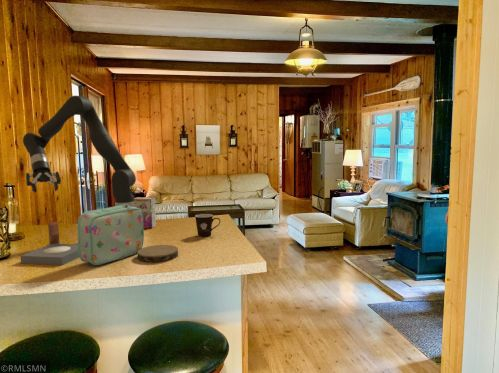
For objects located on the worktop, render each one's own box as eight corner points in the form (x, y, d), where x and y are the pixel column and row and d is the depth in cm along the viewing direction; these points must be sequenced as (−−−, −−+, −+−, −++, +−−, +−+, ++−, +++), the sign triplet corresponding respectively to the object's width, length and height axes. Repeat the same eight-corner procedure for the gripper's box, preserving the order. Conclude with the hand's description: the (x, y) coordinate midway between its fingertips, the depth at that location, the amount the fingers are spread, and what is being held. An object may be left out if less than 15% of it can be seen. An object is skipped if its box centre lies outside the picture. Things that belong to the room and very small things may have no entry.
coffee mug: (192, 236, 182) (191, 216, 180) (201, 232, 190) (200, 213, 188) (213, 238, 177) (213, 218, 176) (221, 234, 185) (221, 214, 184)
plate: (90, 251, 158) (90, 244, 158) (62, 265, 141) (62, 256, 140) (53, 250, 161) (52, 243, 161) (21, 263, 144) (20, 255, 143)
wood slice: (157, 265, 139) (157, 258, 139) (129, 259, 147) (128, 252, 147) (186, 254, 152) (186, 247, 152) (158, 249, 161) (158, 243, 160)
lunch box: (131, 248, 163) (128, 200, 161) (148, 251, 158) (145, 201, 155) (76, 265, 140) (72, 209, 138) (93, 269, 135) (89, 211, 132)
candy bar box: (133, 227, 204) (132, 198, 202) (138, 225, 209) (136, 197, 207) (152, 228, 201) (150, 198, 199) (156, 226, 206) (155, 197, 204)
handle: (65, 245, 169) (64, 221, 168) (56, 249, 163) (54, 224, 162) (53, 244, 170) (51, 221, 169) (43, 248, 164) (41, 224, 163)
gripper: (23, 160, 174) (28, 186, 167) (57, 159, 183) (63, 184, 175) (23, 171, 179) (28, 197, 171) (55, 169, 188) (61, 194, 180)
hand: (46, 190), depth 173 cm, fingers open, 8 cm apart
